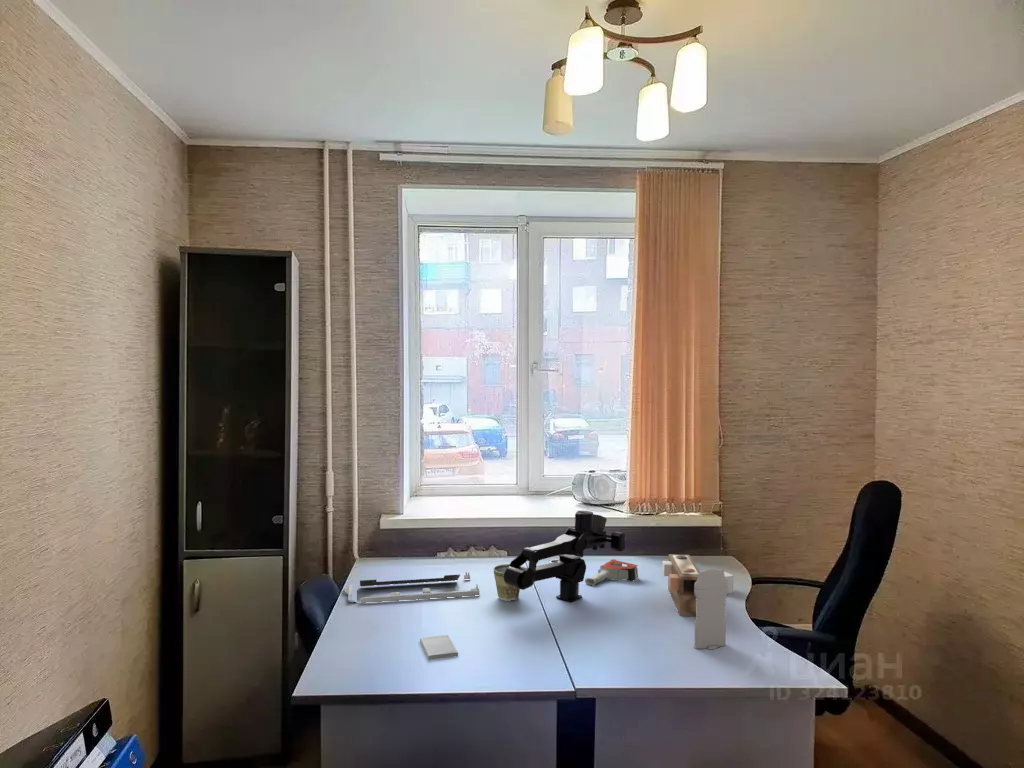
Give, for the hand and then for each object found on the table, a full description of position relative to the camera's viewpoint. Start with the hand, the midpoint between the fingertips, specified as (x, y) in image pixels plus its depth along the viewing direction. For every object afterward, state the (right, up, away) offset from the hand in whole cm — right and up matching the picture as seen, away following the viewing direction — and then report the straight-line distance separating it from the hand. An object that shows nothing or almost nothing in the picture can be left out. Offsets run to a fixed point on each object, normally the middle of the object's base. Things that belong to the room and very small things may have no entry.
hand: (615, 535), depth 247 cm
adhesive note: (+35, -17, -9) cm, 40 cm away
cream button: (+16, -10, -14) cm, 24 cm away
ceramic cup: (-37, -17, -18) cm, 45 cm away
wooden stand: (+20, -17, -21) cm, 34 cm away
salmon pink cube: (+15, -11, -28) cm, 33 cm away
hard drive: (-57, -19, -57) cm, 83 cm away
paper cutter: (-72, -17, -12) cm, 75 cm away
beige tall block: (+18, -19, -55) cm, 61 cm away
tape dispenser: (-1, -17, +4) cm, 17 cm away
